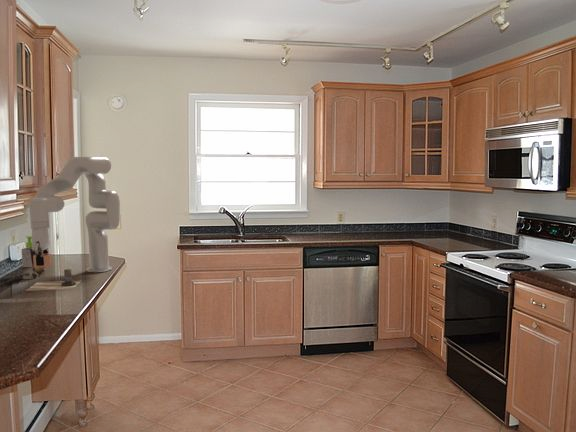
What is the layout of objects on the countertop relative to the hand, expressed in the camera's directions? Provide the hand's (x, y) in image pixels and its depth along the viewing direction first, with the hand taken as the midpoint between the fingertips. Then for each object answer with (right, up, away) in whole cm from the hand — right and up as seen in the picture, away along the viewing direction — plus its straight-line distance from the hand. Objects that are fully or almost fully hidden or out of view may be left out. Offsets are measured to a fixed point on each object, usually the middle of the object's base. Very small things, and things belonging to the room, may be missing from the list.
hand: (42, 263), depth 240 cm
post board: (+5, -12, +1) cm, 13 cm away
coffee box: (-13, -10, +19) cm, 25 cm away
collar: (0, -1, 0) cm, 1 cm away
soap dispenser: (-20, -9, +30) cm, 37 cm away
